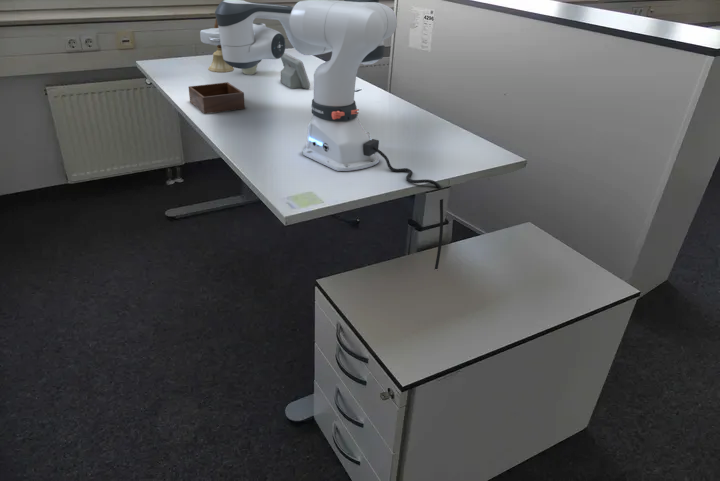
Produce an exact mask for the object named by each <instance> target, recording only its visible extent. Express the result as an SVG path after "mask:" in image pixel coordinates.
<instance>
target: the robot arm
mask: <svg viewBox="0 0 720 481" xmlns="http://www.w3.org/2000/svg"><path fill="white" fill-rule="evenodd" d="M214 14H215V20H216V19H217V24H218V27H219V28H214V27H211V28H207V29H201V30H200V31H199V37H200V42H201V43H202V44H206V45H212V46H217V45H221V48H222V55H223V60H224V61H225V62H226V63H227V64H228V65H230V66H232V67H233V68H234V69H240V70H242V69H248V68H252V67H254V66H256V65H257V64H260V63H261V62H262V61H263V60H280V59H281V57H282V56H283V54H284V53H286V39H285V36H284V35H283V34H282V33H281V32H280V31H279V30H277V29H274V28H271V27H268V26H266V23H261V22H259V23H258V22H256V23H254V21H255V20H256V19H262V20H263V19H264V20H277V21H278V22H279V23H280V24H281V26H282V28H283V30H284V32H285V35H286V37H287V39H288V42H289V43H290V44H291V46H292V47H293V49H294V50H295V51H296V52H297V53H299V54H301V55H303V56H319V55H324V54H328V53H331V57H330V59H329V60H327V61H324V62H323V63H321V64H320V65H318V66H317V67H316V69H315V70H314V73H313V98H312V99H311V106H310V107H311V114H312V116H311V120H310V121H309V123H308V126H307V133H306V134H307V135H306V146H305V148H304V149H303V150H302V155H303V156H305V157H307V158H309V159H311V160H313V161H315V162H318V163H319V164H321V165H323V166H326V167H328V168H330V169H332V170H334V171H338V172H352V171H357V170H358V171H359V170H363V169H367V168H371V167H373V166H375V165H377V164H379V163H380V158H379V157H378V156H377V155H376V153H377V154H379V155H380V156H381V157H382V158H383V159H384V160H385V162H386V166H387V167H388V169H389V170H390V171H392V172H395V173H402V172H407V175H406V177H405V179H406V182H409V183H410V184H431V185H434V186H435V187H436V188H437V189H439V190H441V189H442V186H441V185H440V183H438V182H437V181H436V180H433V179H412V178H410V177H411V176H412V175H413V170H412V169H410V168H407V167H403V168H394V167H393V166H392V165H391V162H390V160H389V157H388V156H387V155H386V154H385V153H384V152H383V151H382V150H380V149H379V148H380V146H379V145H380V140H379V139H376V138H372V139H371V134H370V133H369V132H366V129H365V128H364V126H363V125H362V123H361V121H360V120H359V119H358V115H359V114H360V112H358V111H360V109H359V108H358V107H357V103H356V101H355V91H356V81H357V76H358V71H359V68H360V66H361V65H373V64H376V63H377V62H379V61H380V60H382V59H383V58H384V57H385V52H386V51H385V50H386V45H384V44H385V42H384V41H386V40H387V39H389V38H390V37H391V36H393V34H394V33H395V32H396V30H397V28H398V18H397V14H396V12H395V11H394V9H393V8H391V7H390V6H388V5H386V4H384V3H381V2H380V0H300V1H298V2H296V3H295V4H294V6H292V5H285V4H277V3H265V2H256V1H254V2H253V1H246V0H221V1H220V3H219V4H218V5H217V7H216V9H215V10H214ZM257 66H258V65H257ZM443 234H444V198H441V199H439V235H438V245H437V252H436V253H437V254H436V260H435V264H434V270H435V269H439V263H440V257H441V252H442V245H443Z"/></svg>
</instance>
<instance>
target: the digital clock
mask: <svg viewBox="0 0 720 481" xmlns="http://www.w3.org/2000/svg"><path fill="white" fill-rule="evenodd" d="M280 59H281V61H282V66H283V68H282V70H280V83H281V84H283V85H284V86H286V87H288V88H289V89H300V88H303V89H305V90H306V89H310V87H311V82H310V80H309V76H308V73H307V71H306V68H305V65H304V62H303V61H302V60H301V59H299V58H297V57H295V56H292V55H290V54H288V53H286V52H284V54H283V56H282V57H281V58H280Z"/></svg>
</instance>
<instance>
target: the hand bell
mask: <svg viewBox="0 0 720 481" xmlns="http://www.w3.org/2000/svg"><path fill="white" fill-rule="evenodd" d="M213 28H219V27H218V24H217V19H216V18H215V21H214V26H213ZM207 70H208V71H209V72H212V73H217V74H224V73H231V72H234V71H235V68H234V67H232V66H230V65H228V64H227V63H226V62H225V61H224V60H223V55H222V48H221V45H216V51H214V52H213V53H212V61H211V64H210V66H208V67H207Z"/></svg>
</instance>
